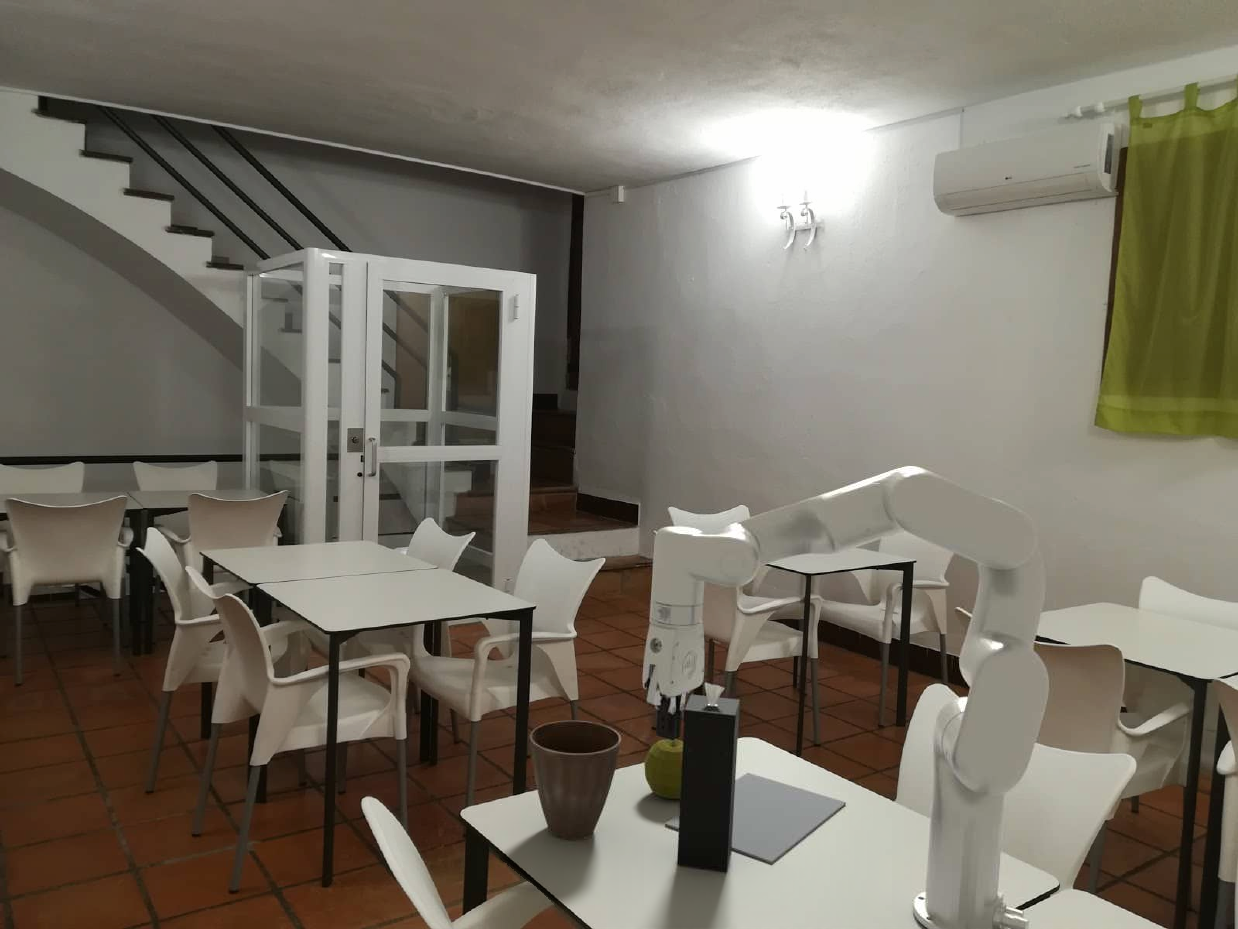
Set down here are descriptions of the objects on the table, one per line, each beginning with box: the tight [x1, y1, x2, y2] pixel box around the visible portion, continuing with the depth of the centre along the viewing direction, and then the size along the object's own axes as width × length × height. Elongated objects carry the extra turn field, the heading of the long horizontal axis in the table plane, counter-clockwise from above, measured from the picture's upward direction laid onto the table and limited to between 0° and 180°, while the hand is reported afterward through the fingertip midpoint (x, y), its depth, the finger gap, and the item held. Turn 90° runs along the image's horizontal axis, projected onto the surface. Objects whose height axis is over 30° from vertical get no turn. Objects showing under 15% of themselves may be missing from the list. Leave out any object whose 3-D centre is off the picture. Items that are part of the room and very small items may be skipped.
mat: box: [664, 772, 847, 865], centre depth 168 cm, size 20×29×1 cm
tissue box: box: [676, 682, 741, 873], centre depth 150 cm, size 8×8×28 cm
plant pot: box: [529, 720, 622, 841], centre depth 158 cm, size 15×15×16 cm
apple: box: [644, 738, 683, 800], centre depth 174 cm, size 10×10×11 cm
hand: (668, 736), depth 140 cm, fingers closed
